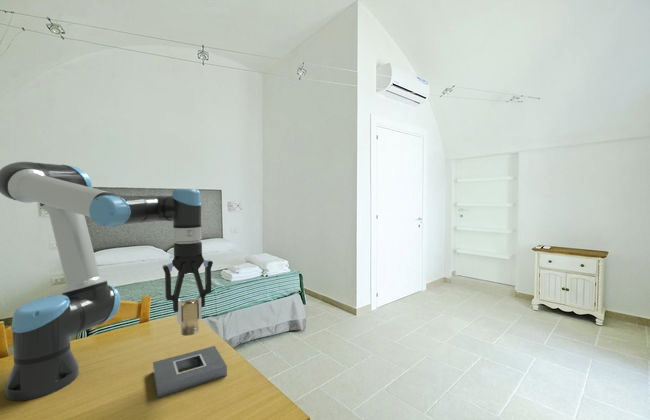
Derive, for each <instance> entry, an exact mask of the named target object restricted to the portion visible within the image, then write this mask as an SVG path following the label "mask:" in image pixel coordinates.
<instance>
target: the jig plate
mask: <svg viewBox="0 0 650 420" xmlns="http://www.w3.org/2000/svg"><path fill="white" fill-rule="evenodd" d="M196 366H198V367H196ZM193 367H194V368H193ZM227 367H228V365H227V363H226V362H225V360H224V358H223V357H222V356H221V354H220V352H219V350H218V349H217V348H216V346H215V345H214V346H209V347H205V348H202V349H198V350H193V351H190V352H187V353H183V354H179V355H176V356H171V357H168V358H164V359H159V360H156V361H153V362H152V372H153V373H152V374H153V379H154V385H155V390H156V394H157V399H159V398H162V397H165V396H168V395H171V394H173V393H176V392H180V391H183V390H186V389H189V388H193V387H196V386H198V385H202V384H205V383H207V382H211V381H215V380H217V379H221V378H224V377H226V376H227V375H228V368H227ZM190 368H191V369H190ZM186 369H187V370H186ZM182 370H183V371H182ZM179 371H181V372H179Z"/></svg>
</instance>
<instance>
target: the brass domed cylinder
mask: <svg viewBox="0 0 650 420" xmlns="http://www.w3.org/2000/svg"><path fill="white" fill-rule="evenodd" d="M181 316H182V323H181V324H180V335H182V336H192V335H196V334H198V332H199V330H200V329H199V328H200V327H199V319H198V300H197V298H195V299H194V298H191V299H185V300H183V301H182V300H181Z"/></svg>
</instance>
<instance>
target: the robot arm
mask: <svg viewBox="0 0 650 420" xmlns="http://www.w3.org/2000/svg"><path fill="white" fill-rule="evenodd" d="M92 184H93V183H92V181H91V178H90V176H89V175H88V173H87V172H86V171H84V170H83V169H81V168H79V167H77V166H72V165H67V164H56V163H55V164H54V163H43V162H42V163H41V162H34V161H17V162H13V163H9V164H7V165H5V166H2V168H0V194H1V195H3V196H4V197H6V198H8V199H9V200H12V201H13V200H14V201H16V202H21V203H25V204H26V203H39V206H40V209H41V210H43V211H44V212H47V213H48V215H49V216H48V217H49V219H50V224H51V227H52V231H53V234H54V235H53V236H54V239H55V243H56V247H57V251H58V256H59V260H60V263H61V267H62V271H63V275H64V279H65V283H66V285H65V288H63V290H62V291H61V294H55V295H53V294H52V295H49V296H46V297H41V298H40V297H39V298H37V299H34V300H31V301H29V302H27V303H24V304H23V305H21V306H19V307H18V308H17V309H16V310H15V311H14V312H13V315H12V320H11V321H12V322H11V325H10V326H11V332H12V348H13V351H12V352H13V366H12V367H11V371H10V374H9V376H8V379H7V382H6V384H5V397H6V399H7V400H11V401H27V400H28V401H29V400H33V399H37V398H42V397H44V396H47V395H51V394H53V393H55V392H58V391H59V390H62V389H63V388H65V387H67V386H68V385H70V384H72V383H73V382H74V381H75V380H76V379H77V378H78V376H79V375H80V368H79V367H80V365H79V363H78V362H77V360H76V358H75V356H74V353H73V352H72V350H71V337H73V336H75V335H78V334H80V333H82V332H85V331H87V330H89V329H91V328H94V327H96V326H99V325H103V324H104V323H106V322H107V321H110V320H112V319H113V317H115V316H116V315H117V313H118V311H119V310H120V306H121V295H120V292H119V291H118V289H117V288H116V287H115V286H114V285H111V284H108V281H107V279H106V278H103V277H101V276H100V272H99V268H98V265H97V259H96V256H95V253H94V247H93V243H92V240H91V236H90V231H89V227H88V225H87V221H86V217H89V218H91V220H92V221H93V222H95V224H96V225H98V226H101V227H106V226H107V227H108V226H109V227H118V226H123V225H124V226H125V225H132V224H142V223H153V222H172V224H173V225H172V226H173V227H172V229H173V230H172V231H173V241H174V244H173V260H172V261H171V262H170V263H168V264H163V265H162V269H163V272H164V281H165V282H164V285H165V286H164V287H165V289H164V290H165V293H164V294H165V299H166V300H167V301H172V310H173V313H177V314H176V316H177V317H176V318H177V324H178V325H179V324H180V325H181V323H182V316H181V302H182V300H181V299H180V295H181V289H182V285H183V283H184V278H185V275H188V274H193V277H194V280H195V284H196V287H197V291H198V295H196V300H198V320H202V319H203V317H202V316H203V315H202V312H203V311H202V308H203V307H205V306H206V296H207V295H208V294H211V293H212V267H213V263H214V262H213V260H211V259H205V258H204V257H203V243H202V241H201V240H202V239H203V237H202V204H203V203H202V198H201V197H202V196H201V192H200V190H199V189H195V188H174V189H173V190H172V195H122V194H119V193H118V194H117V193H114V192H110V191H107V190H106V191H105V190H101V189H99V188H98V189H97V188H94V187H93V185H92ZM202 265H203V267H205V268H204V286H203V282H202V280H201V278H202V277H201V276H200V275H201V274H200V271H199V270H200V268H201V266H202ZM173 267H174V268H175V269H176V271H177V278H176V280H175V284H174V285H175V286H174V289H173V294H172V275H171V272H172V271H173ZM204 287H205V289H204Z"/></svg>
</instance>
